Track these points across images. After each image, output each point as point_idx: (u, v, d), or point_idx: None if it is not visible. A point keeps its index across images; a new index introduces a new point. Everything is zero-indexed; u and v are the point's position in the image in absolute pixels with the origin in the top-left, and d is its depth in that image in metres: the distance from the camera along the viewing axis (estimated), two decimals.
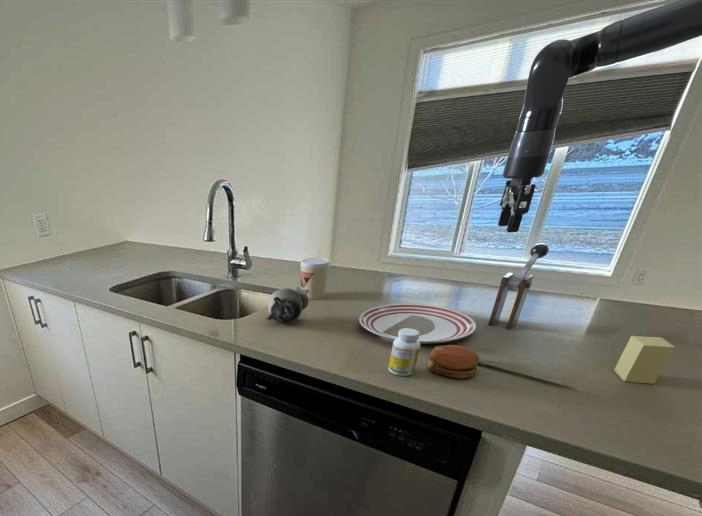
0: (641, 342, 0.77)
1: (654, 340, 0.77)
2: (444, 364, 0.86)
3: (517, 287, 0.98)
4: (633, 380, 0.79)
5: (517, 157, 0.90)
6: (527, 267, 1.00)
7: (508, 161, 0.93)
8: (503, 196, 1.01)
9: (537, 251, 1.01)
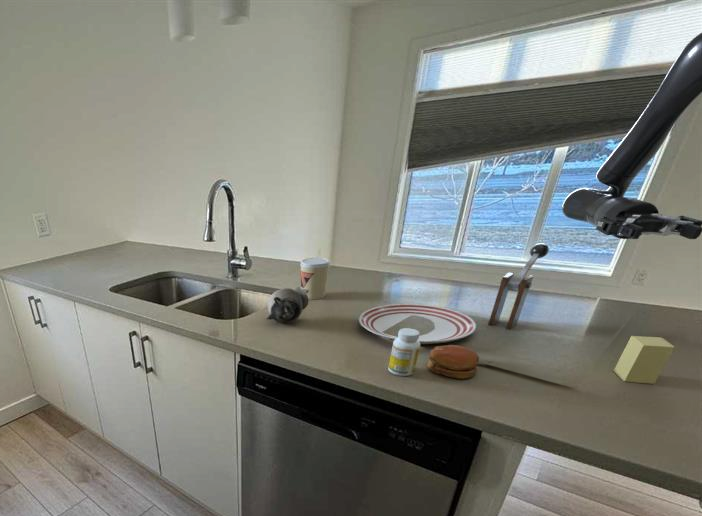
0: (641, 342, 0.77)
1: (654, 340, 0.77)
2: (444, 364, 0.86)
3: (517, 287, 0.98)
4: (633, 380, 0.79)
5: None
6: (527, 267, 1.00)
7: None
8: None
9: (537, 251, 1.01)
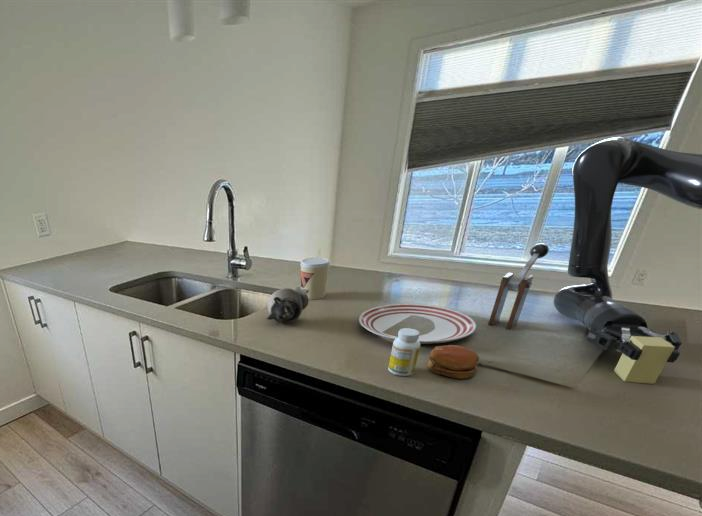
0: (641, 342, 0.77)
1: (654, 340, 0.77)
2: (444, 364, 0.86)
3: (517, 287, 0.98)
4: (633, 380, 0.79)
5: None
6: (527, 267, 1.00)
7: None
8: None
9: (537, 251, 1.01)
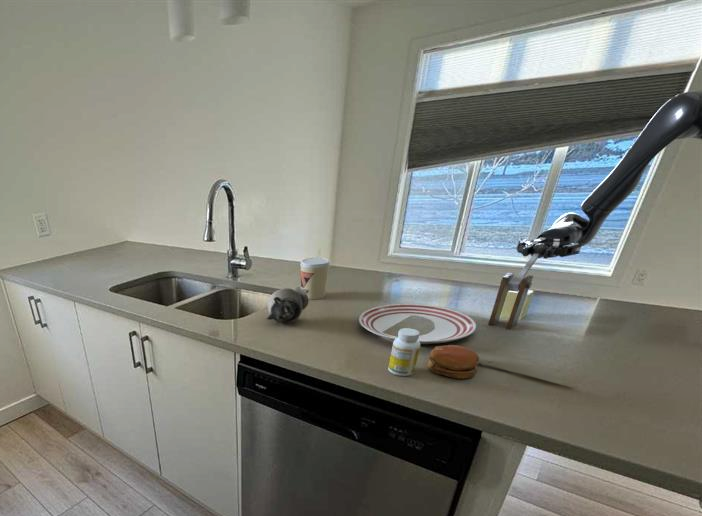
0: None
1: None
2: (444, 364, 0.86)
3: (517, 287, 0.98)
4: None
5: None
6: (527, 267, 1.00)
7: None
8: None
9: (537, 251, 1.01)
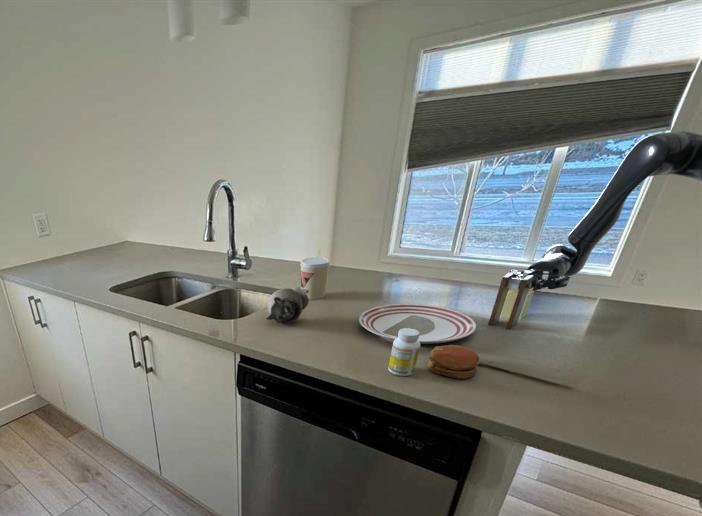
0: (511, 290, 1.06)
1: None
2: (444, 364, 0.86)
3: (518, 283, 0.97)
4: None
5: None
6: None
7: None
8: None
9: None
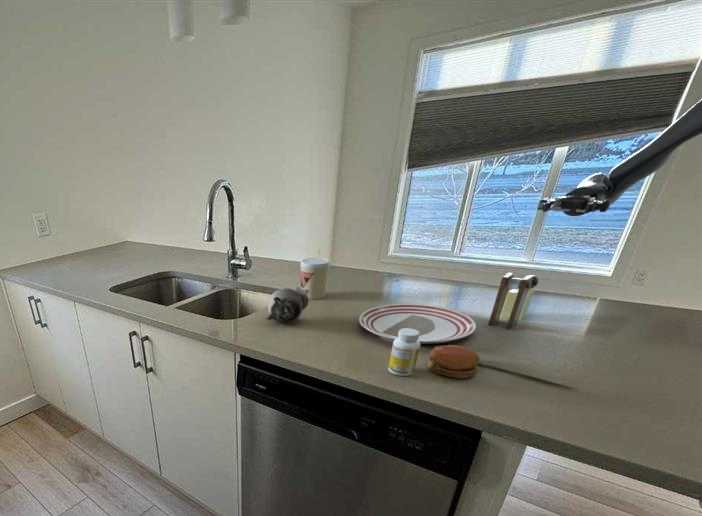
0: (511, 290, 1.06)
1: None
2: (444, 364, 0.86)
3: (518, 283, 0.97)
4: None
5: None
6: None
7: None
8: None
9: None
